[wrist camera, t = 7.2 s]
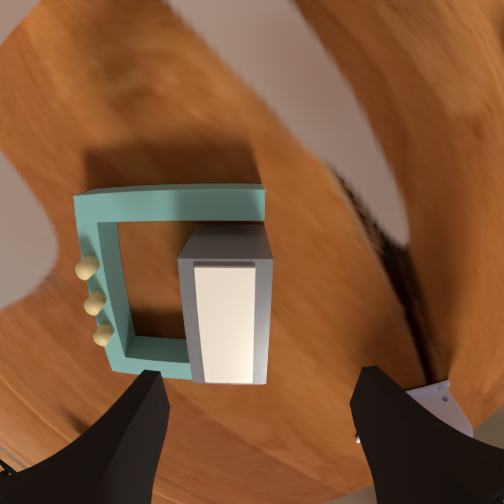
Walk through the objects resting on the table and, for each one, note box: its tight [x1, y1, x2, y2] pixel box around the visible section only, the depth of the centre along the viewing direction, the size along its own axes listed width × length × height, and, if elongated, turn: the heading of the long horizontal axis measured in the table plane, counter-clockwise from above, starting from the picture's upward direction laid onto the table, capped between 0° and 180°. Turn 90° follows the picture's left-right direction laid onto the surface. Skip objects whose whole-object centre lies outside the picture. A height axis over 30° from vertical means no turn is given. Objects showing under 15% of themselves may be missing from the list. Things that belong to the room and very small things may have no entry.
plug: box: [177, 224, 273, 384], centre depth 15 cm, size 4×7×6 cm, turn 179°
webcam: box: [0, 461, 17, 478], centre depth 35 cm, size 8×8×10 cm
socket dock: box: [74, 183, 265, 380], centre depth 16 cm, size 10×12×4 cm
